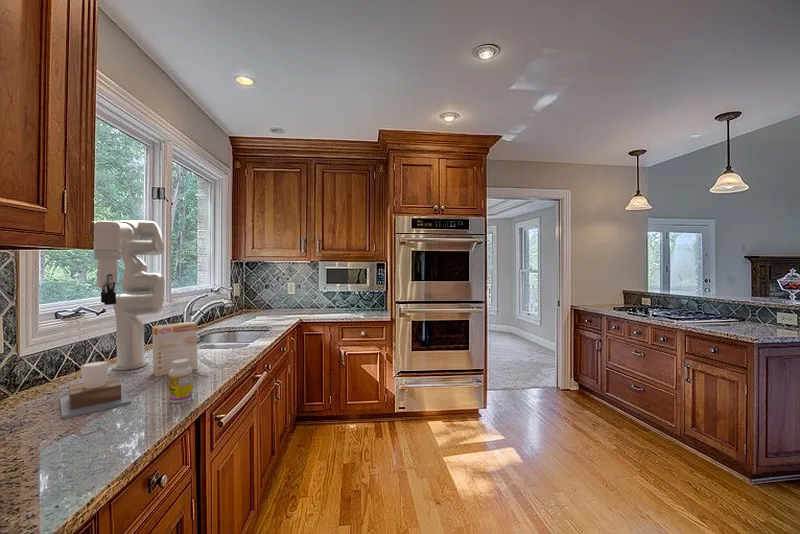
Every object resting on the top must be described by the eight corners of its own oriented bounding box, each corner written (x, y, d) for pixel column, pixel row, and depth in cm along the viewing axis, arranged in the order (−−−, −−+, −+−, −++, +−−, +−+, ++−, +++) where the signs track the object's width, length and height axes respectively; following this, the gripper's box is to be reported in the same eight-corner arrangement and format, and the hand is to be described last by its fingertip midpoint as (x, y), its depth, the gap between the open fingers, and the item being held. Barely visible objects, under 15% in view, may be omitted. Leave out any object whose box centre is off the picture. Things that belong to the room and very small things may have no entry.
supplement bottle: (166, 400, 117) (165, 360, 117) (188, 394, 122) (188, 356, 121) (172, 405, 112) (171, 364, 112) (195, 399, 117) (195, 360, 117)
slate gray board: (60, 400, 117) (59, 397, 117) (121, 388, 128) (121, 386, 128) (61, 418, 103) (61, 416, 103) (131, 403, 114) (131, 401, 114)
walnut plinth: (68, 399, 116) (68, 385, 116) (116, 390, 124) (115, 376, 124) (70, 410, 107) (70, 394, 107) (121, 399, 116) (121, 385, 116)
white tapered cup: (114, 382, 118) (114, 361, 118) (94, 389, 111) (94, 367, 111) (95, 381, 119) (95, 360, 119) (74, 388, 112) (74, 366, 112)
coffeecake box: (193, 365, 156) (193, 321, 156) (198, 369, 151) (197, 323, 151) (152, 373, 146) (151, 325, 146) (155, 377, 141) (154, 327, 141)
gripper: (91, 256, 132) (92, 302, 132) (96, 255, 120) (97, 306, 120) (117, 256, 137) (118, 300, 138) (124, 255, 125) (125, 304, 125)
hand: (108, 303), depth 129 cm, fingers open, 9 cm apart
